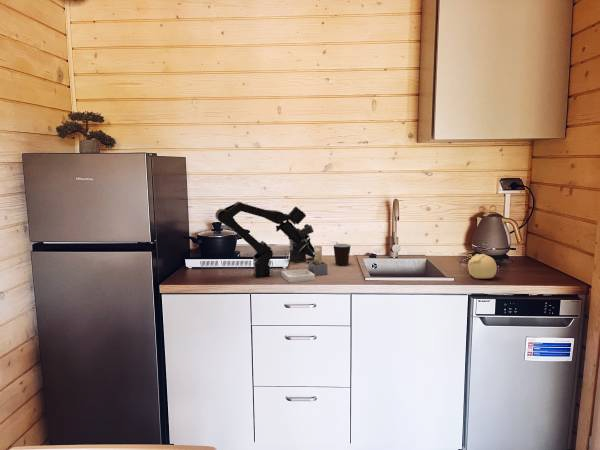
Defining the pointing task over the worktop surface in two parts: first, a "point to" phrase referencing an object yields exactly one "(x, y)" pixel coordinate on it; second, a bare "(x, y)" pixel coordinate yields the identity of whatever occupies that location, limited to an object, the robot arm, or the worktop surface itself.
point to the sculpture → (482, 266)
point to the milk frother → (297, 254)
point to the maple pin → (317, 255)
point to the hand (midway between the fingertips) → (315, 254)
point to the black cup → (341, 254)
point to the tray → (297, 275)
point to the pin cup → (318, 268)
